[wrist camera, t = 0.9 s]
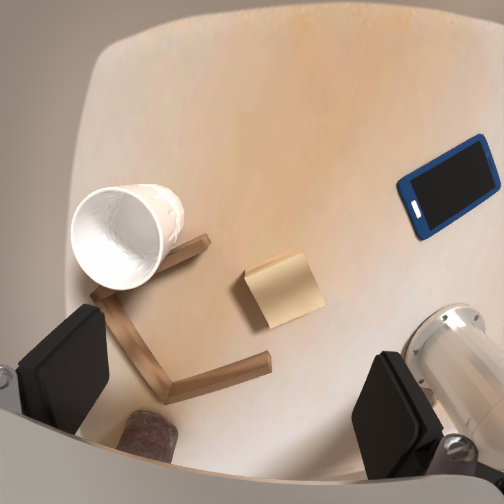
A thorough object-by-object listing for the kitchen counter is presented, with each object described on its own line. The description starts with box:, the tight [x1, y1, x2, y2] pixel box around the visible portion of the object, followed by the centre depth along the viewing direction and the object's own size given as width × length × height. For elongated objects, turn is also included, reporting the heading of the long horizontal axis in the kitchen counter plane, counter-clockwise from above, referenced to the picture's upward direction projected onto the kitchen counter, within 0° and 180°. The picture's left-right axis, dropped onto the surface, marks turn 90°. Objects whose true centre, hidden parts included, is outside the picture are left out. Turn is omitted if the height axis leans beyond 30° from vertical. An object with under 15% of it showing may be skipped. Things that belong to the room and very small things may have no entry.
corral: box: [90, 234, 272, 405], centre depth 34 cm, size 16×14×3 cm
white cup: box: [70, 184, 184, 290], centre depth 27 cm, size 8×8×10 cm
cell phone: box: [397, 134, 501, 240], centre depth 30 cm, size 7×14×1 cm, turn 121°
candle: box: [116, 411, 178, 464], centre depth 31 cm, size 8×7×20 cm
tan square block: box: [244, 245, 326, 328], centre depth 33 cm, size 6×6×3 cm
